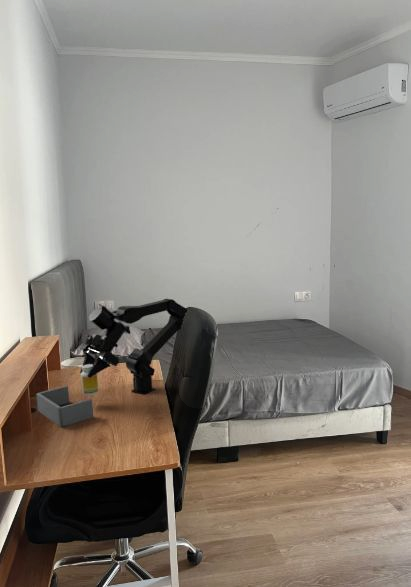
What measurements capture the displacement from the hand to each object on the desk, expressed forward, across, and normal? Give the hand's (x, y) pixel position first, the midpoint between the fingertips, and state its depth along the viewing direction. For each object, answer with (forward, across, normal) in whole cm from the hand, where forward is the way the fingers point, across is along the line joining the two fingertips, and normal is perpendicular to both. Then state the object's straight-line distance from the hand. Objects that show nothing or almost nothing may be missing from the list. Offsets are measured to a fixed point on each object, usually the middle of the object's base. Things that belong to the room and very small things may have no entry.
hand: (84, 375), depth 165 cm
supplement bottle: (+4, 0, +6) cm, 7 cm away
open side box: (+13, 0, +2) cm, 14 cm away
